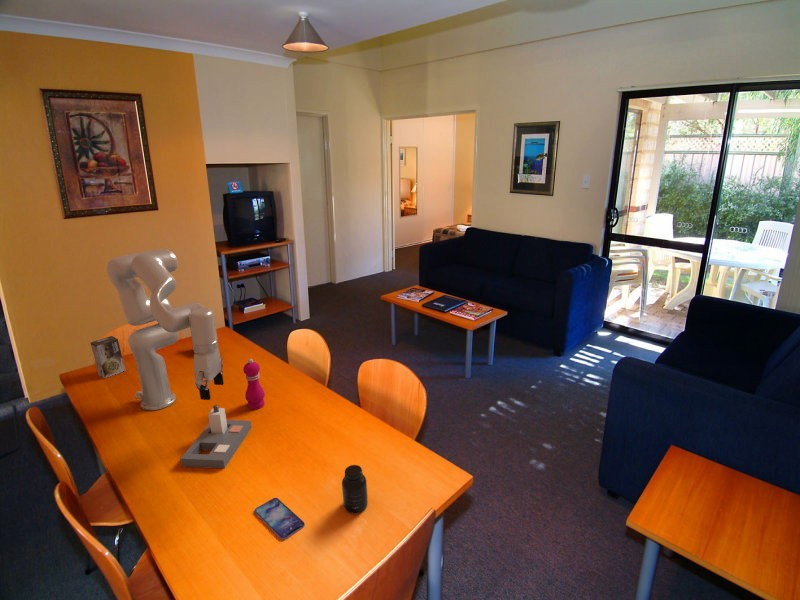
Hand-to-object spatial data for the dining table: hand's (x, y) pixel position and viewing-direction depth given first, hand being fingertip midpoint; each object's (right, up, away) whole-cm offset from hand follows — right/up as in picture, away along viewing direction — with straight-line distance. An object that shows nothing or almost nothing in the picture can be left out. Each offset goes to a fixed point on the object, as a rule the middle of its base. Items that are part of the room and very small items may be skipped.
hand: (212, 391), depth 156 cm
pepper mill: (+7, -10, +24) cm, 27 cm away
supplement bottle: (+51, -27, -27) cm, 64 cm away
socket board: (+2, -18, 0) cm, 18 cm away
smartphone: (+31, -29, -31) cm, 52 cm away
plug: (+1, -17, +5) cm, 18 cm away
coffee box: (-67, -2, +52) cm, 85 cm away
